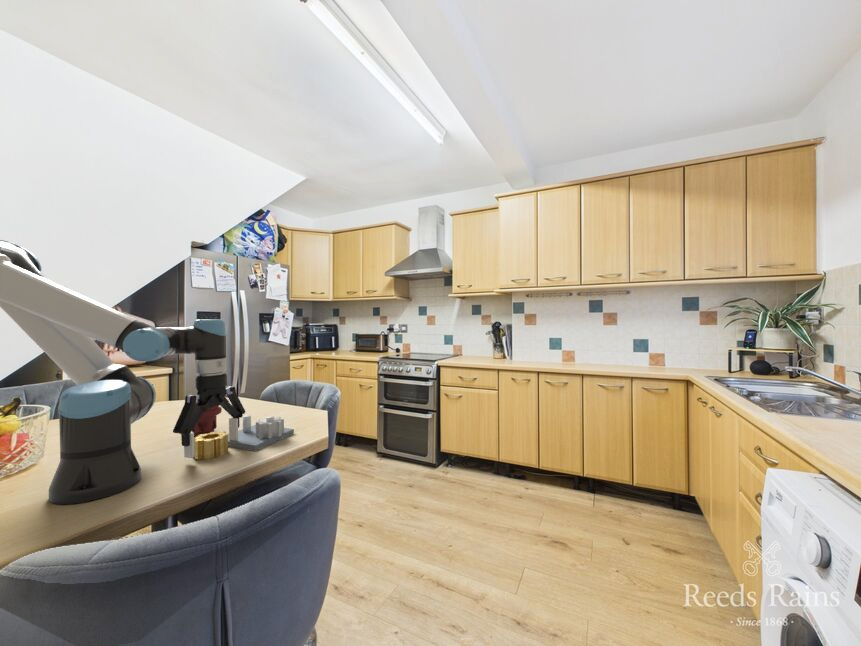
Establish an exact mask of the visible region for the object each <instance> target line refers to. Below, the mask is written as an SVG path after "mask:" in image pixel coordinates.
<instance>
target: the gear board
mask: <svg viewBox="0 0 861 646" xmlns="http://www.w3.org/2000/svg"><path fill="white" fill-rule="evenodd" d="M293 433H294V434H295V429H294V428H286V427H285V418H281V417H280V416H276V417H275V416H273V415H271V416H266V417H265V418H259V419H258V421H255V424H253V425H252V415H249V414H248V415H247V414H245V415H243V416H242V429H240V430H239V429H238V440H237V441H235V440H229V433H227V434H228V446H230V448H235V447H236V448H237V449H242V450H249V451H255V452H256V451H258V450H260V449H262V447H263V448H265V447H267V446H269V445H271V443H272V444H274V443H276V442H278V441H280V439H281V440H283V439H285V438H287V437H290V436H292V435H294V434H293ZM291 434H292V435H291ZM289 435H290V436H289ZM282 438H283V439H282ZM277 440H278V441H277ZM275 441H276V442H275ZM273 442H274V443H273ZM236 448H235V449H236Z"/></svg>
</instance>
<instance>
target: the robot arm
mask: <svg viewBox="0 0 861 646" xmlns="http://www.w3.org/2000/svg"><path fill="white" fill-rule="evenodd" d="M0 308H1V309H2V310H3V311H4V312H5V313H6V314H7V315H8V316H9V318H11V320H13V322H15V324H16V325H18V327H19V328H20V329H21V330H22V331H23V332H24V333H25V334H26V335H27V336H28V337H29V338H30V339H31V341H33V342H34V343H35V344H36V345H37V346H38V347H39V348H40V349H41V350H42V351H43V352H44V353H45V354H46V355H47V356H48V358H49V359H51V361H53V362H54V363H55V364H56V366H57V367H58V368H59V369H61V370H62V372H63V373H64V374H66V376H67V377H68V378H69V379H70V380H72V382H73V383H74V384H75V385H73V386H71V387H69V388H66V389H65V390H64V391H63V392H62V393H61V395H60V396H59V404H58V406H57V407H58V408H57V411H58V417H59V418H58V420H59V421H58V422H59V424H58V425H59V453H60V455H59V456H60V457H59V463H58V466H57V468H56V470H55V473H54V476H53V478H52V480H51V483H50V485H49V488H48V501H49V502H50V503H51V504H55V505H73V504H74V505H75V504H79V503H80V504H81V503H86V502H91V501H95V500H99V499H103V498H107V497H110V496H112V495H116V494H119V493H121V492H123V491H125V490H127V489H130V488H131V487H133V486H134V485H136V484H137V483H138V482H140V480H142V479H141V478H142V468H141V466H140V463H139V461H138V459H137V457H136V454H135V453H134V451H133V449H132V428H131V427H132V424H134V423H135V422H136V421H139V420H140V419H142V418H143V417H145V416H146V415H147V414H148V413H149V411H151V409H152V408H153V406H154V405H155V402H156V397H157V395H156V393H157V392H156V389H155V386H153V384H152V383H151V382H150V381H149V380H148V379H146V378H144V377H141V376H136V374H135V373H134V372H133V371H132V370H131V369H130V368H129V367H128V365H125V364H118V363H115V362H114V361H113V360H112V359H111V358H110V357H109V356H108V354H107V353H106V352H105V351H104V350H103V349H102V348H101V347H100V346H99V345H98V344H97V343H96V342H95V341H94V340H96V341H99V342H101V343H104V344H106V345H108V346H110V347H113V348H116V349H118V350H120V351H122V352H124V353H125V355H126V356H127V357H128V358H130V359H131V360H134V361H136V362H147V363H148V362H152V361H157V360H160V359H161V358H164V357H168V356H172V355H191V354H194V373H195V374H196V376H195V388H196V391H197V393H196V394H186V395H185V398H184V404H183V407H182V410H181V412H180V413H179V416H178V418H177V420H176V423H175V425H174V427H173V429H172V433H174V434H179V435H180V436H181V446H182V447H183V453H184V454H183V456H184V458H187V459H193V458H194V459H195V449H194V438H195V437H194V433H193V432H192V430H193V428H194V427H195V425H196V423H197V422H198V420H199V419H200V417H201V416H202V414H203V413H204V411H206V410H207V409H208V408H212V407H214V406H219V407H221V408H222V409H223V410H224V411H225V412H226V413H227V414H228V415H230V416H231V417H229V418H228V434H229V440H235V441H237V440H238V431H239V428H240V418H243V416H244V415H246V410H245V408H244V405H243V404H242V401H241V400H240V398H239V396H238V393H237V392H236V391H237V390H236V386H229V385H228V375H227V373H225V372H227V334H226V323H225V321H224V320H222V319H218V318H215V319H213V318H211V319H210V318H209V319H195V320H194V322H193V325H192V326H177V327H175V326H174V327H173V326H172V327H171V326H167V327H166V326H165V327H160V326H159V327H157V326H152V325H150V324H148V323H146V322H143V321H141V320H138V319H136V318H135V317H132V316H129V315H128V314H125V313H123V312H121V311H118V310H116V309H114V308H112V307H110V306H107V305H105V304H103V303H100V302H98V301H96V300H93V299H91V298H89V297H87V296H85V295H82V294H80V293H78V292H76V291H73V290H72V289H69V288H66V287H64V286H62V285H60V284H57V283H56V282H53V281H52V280H50V279H48V278H47V277H45V276H44V274H43V273H42V265H41V263H40V260H39V259H38V258H37V257H36V256H35V255H34V254H33V253H32V252H31V251H30V250H28V249H26V248H24V247H22V246H20V245H18V244H16V243H13V242H11V241H7V240H2V239H0ZM226 396H227V397H226ZM197 400H198V402H197ZM196 402H197V404H196ZM195 404H196V405H195ZM201 405H202V406H201ZM194 408H195V409H194Z"/></svg>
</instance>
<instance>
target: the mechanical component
mask: <svg viewBox="0 0 861 646" xmlns="http://www.w3.org/2000/svg"><path fill="white" fill-rule="evenodd" d="M197 402H198V400H197ZM197 402H196V404H197ZM196 404H195V405H196ZM201 406H202V405H201ZM194 409H195V408H194ZM222 409H223V408H222V407H221V406H220V405H219V406H214V407H212V408H208V409H207V410H206V411H204V413H203V414H202V416H201V417H200V419H199V420H198V422H197V423H196V425H195V427H194V428H193V430H192V431H191V432H192V433H194V436H196V437H197V436H198V435H200V434H207V433H210V432H215V430H216V429H217V424H218V423H217V416H218V415H221V413H222V411H223V410H222Z"/></svg>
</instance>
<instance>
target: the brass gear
mask: <svg viewBox="0 0 861 646" xmlns="http://www.w3.org/2000/svg"><path fill="white" fill-rule="evenodd" d="M228 434H229V433H226V431H214V432H210V433H207V434H200V435H198V436H196V437H194V449H195V457H194V460H196V459H197V460H198V459H199V460H207V459H208V460H212V459H214V458H217V456H218V457H223V456H224V454H226V453H229V447H228ZM203 458H204V459H203ZM197 460H196V461H197Z"/></svg>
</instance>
